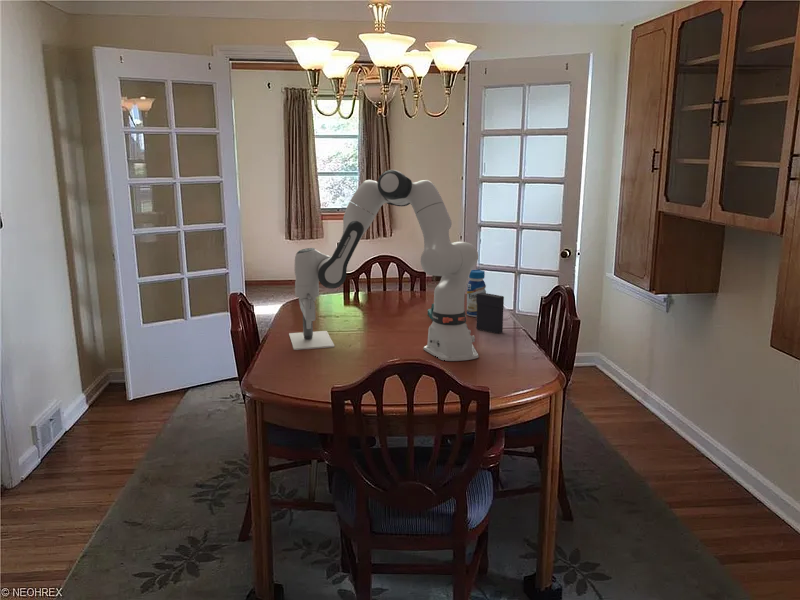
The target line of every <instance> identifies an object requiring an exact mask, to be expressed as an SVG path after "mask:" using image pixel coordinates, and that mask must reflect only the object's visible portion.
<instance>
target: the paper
mask: <svg viewBox="0 0 800 600" xmlns="http://www.w3.org/2000/svg"><path fill="white" fill-rule="evenodd" d="M288 336H289V338H290V341H291V346H292V349H293V350H294V351H299V350H301V351H302V350H311V349H312V350H313V349H324V348H325V349H326V348H335V345H336V344H335V343H334V342H333V340H332V338H331V336H330V335H329V332H328V331H327V330H321V331H320V330H318V331H313V335H312V339H304V336H303V331H302V332H289V333H288Z"/></svg>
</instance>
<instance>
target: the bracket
mask: <svg viewBox="0 0 800 600" xmlns="http://www.w3.org/2000/svg"><path fill="white" fill-rule="evenodd" d="M433 310H434V303H431V307H430V308H428V309H427V316H428V315H429V316H428V317H429V318H430V320H431V319H432V314H433ZM431 322H433V320H431Z"/></svg>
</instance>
